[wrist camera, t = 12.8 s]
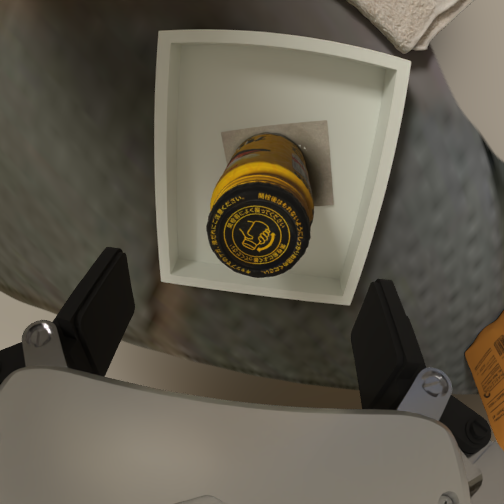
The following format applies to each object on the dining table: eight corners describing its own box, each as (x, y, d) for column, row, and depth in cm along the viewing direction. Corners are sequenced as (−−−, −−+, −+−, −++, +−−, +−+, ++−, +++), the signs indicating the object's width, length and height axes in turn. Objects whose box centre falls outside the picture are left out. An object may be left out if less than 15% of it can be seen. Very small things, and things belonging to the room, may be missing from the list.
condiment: (221, 132, 25) (175, 181, 15) (326, 120, 23) (360, 160, 13) (236, 212, 28) (209, 302, 18) (333, 203, 27) (359, 291, 17)
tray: (173, 34, 21) (158, 30, 18) (395, 61, 21) (411, 61, 18) (171, 261, 33) (161, 281, 30) (345, 283, 32) (349, 305, 29)
